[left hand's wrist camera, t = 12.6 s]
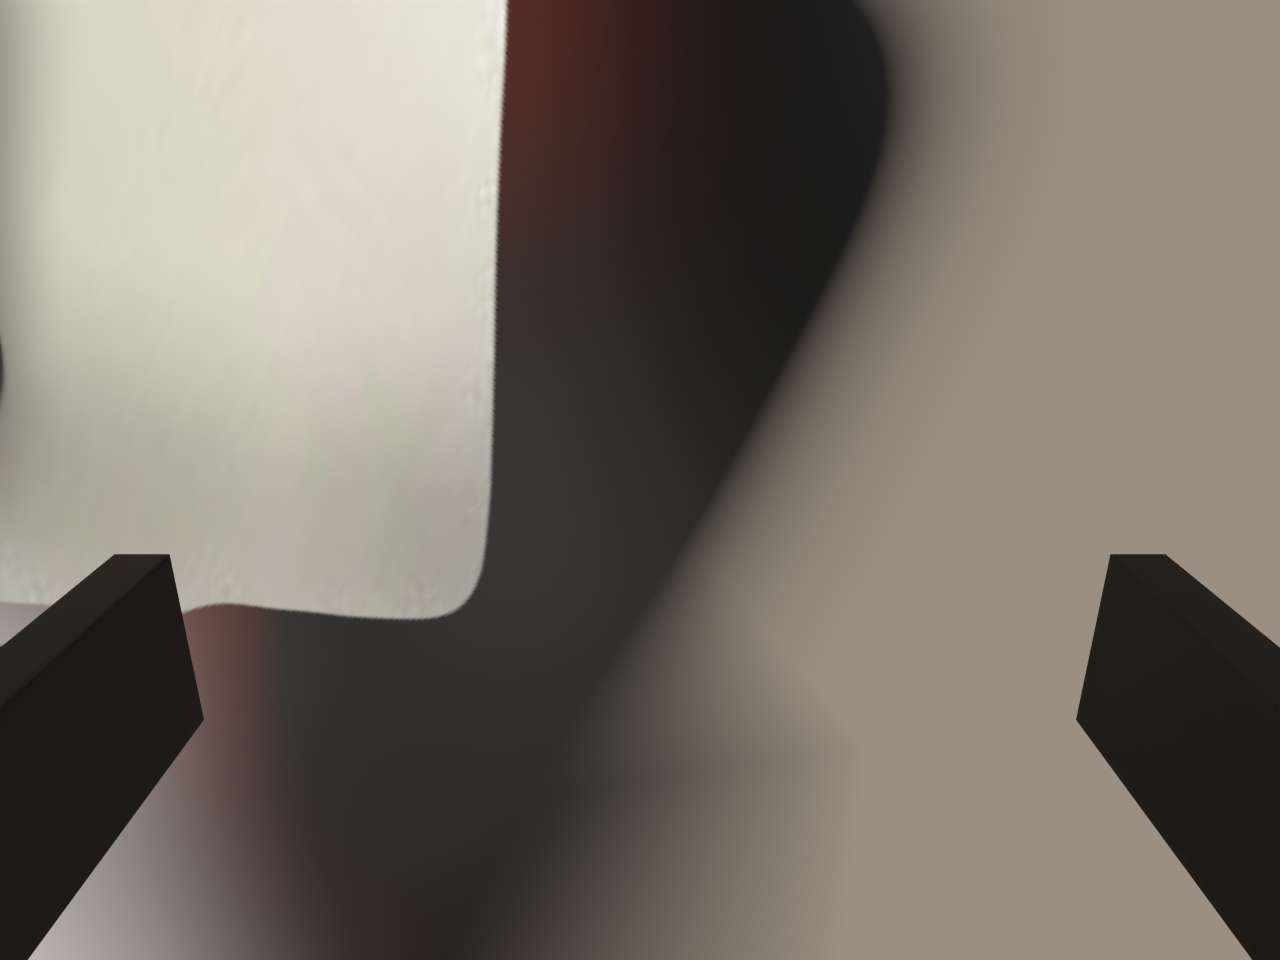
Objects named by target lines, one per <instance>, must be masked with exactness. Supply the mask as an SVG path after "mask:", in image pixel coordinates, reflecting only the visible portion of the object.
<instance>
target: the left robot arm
mask: <svg viewBox="0 0 1280 960" xmlns="http://www.w3.org/2000/svg"><path fill="white" fill-rule="evenodd" d="M203 720H204V718H203V713H202V708H201V704H200V699H199V694H198V689H197V684H196V680H195V675H194V670H193V665H192V660H191V655H190V651H189V646H188V641H187V636H186V631H185V627H184V622H183V617H182V612H181V607H180V603H179V598H178V593H177V588H176V583H175V579H174V574H173V569H172V564H171V559H170V555H169V554H114V555H113V556H112V557H111V558H110V559H108V560H107V561H106V562H105V563H103V564H102V565H101V566H100V567H98V568H97V569H96V570H95V571H94V572H92V573H91V574H90V575H89V576H87V577H86V578H85V579H84V580H83V581H81V582H80V583H79V584H78V585H76V586H75V587H74V588H73V589H72V590H70V591H69V592H68V593H67V594H65V595H64V596H63V597H62V598H61V599H59V600H58V601H57V602H56V603H54V604H53V605H52V606H51V607H49V608H48V609H47V610H46V611H45V612H43V613H42V614H41V615H40V616H38V617H37V618H36V619H35V620H34V621H32V622H31V623H30V624H29V625H27V626H26V627H25V628H24V629H23V630H21V631H20V632H19V633H18V634H16V635H15V636H14V637H13V638H12V639H10V640H9V641H8V642H7V643H5V644H4V645H3V646H2V647H1V648H0V960H28V959H29V957H30V956H31V955H32V953H33V952H34V950H35V949H36V948H37V946H38V945H39V944H40V942H41V941H42V940H43V938H44V937H45V935H46V934H47V933H48V931H49V930H50V929H51V927H52V926H53V925H54V923H55V922H56V920H57V919H58V918H59V916H60V915H61V914H62V912H63V911H64V910H65V908H66V907H67V905H68V904H69V903H70V901H71V900H72V899H73V897H74V896H75V894H76V893H77V892H78V890H79V889H80V888H81V886H82V885H83V884H84V882H85V881H86V880H87V878H88V877H89V875H90V874H91V873H92V871H93V870H94V869H95V867H96V866H97V865H98V863H99V862H100V861H101V859H102V858H103V856H104V855H105V854H106V852H107V851H108V850H109V848H110V847H111V845H112V844H113V843H114V841H115V840H116V839H117V837H118V836H119V835H120V833H121V832H122V831H123V829H124V828H125V826H126V825H127V824H128V822H129V821H130V820H131V818H132V817H133V816H134V814H135V813H136V811H137V810H138V809H139V807H140V806H141V805H142V803H143V802H144V801H145V799H146V798H147V796H148V795H149V794H150V792H151V791H152V790H153V788H154V787H155V786H156V784H157V783H158V781H159V780H160V779H161V777H162V776H163V775H164V773H165V772H166V771H167V769H168V768H169V766H170V765H171V764H172V762H173V761H174V760H175V758H176V757H177V756H178V754H179V753H180V751H181V750H182V749H183V747H184V746H185V745H186V743H187V742H188V741H189V739H190V738H191V737H192V735H193V734H194V732H195V731H196V730H197V728H198V727H199V726H200V724H201V723H202V722H203ZM1076 720H1077V721H1078V723H1079V724H1080V726H1081V727H1082V728H1083V730H1084V731H1085V732H1086V734H1087V735H1088V737H1089V738H1090V739H1091V741H1092V742H1093V743H1094V745H1095V746H1096V747H1097V749H1098V750H1099V752H1100V753H1101V754H1102V756H1103V757H1104V758H1105V760H1106V761H1107V762H1108V764H1109V765H1110V766H1111V768H1112V769H1113V771H1114V772H1115V773H1116V775H1117V776H1118V777H1119V779H1120V780H1121V781H1122V783H1123V784H1124V786H1125V787H1126V788H1127V790H1128V791H1129V792H1130V794H1131V795H1132V796H1133V798H1134V799H1135V800H1136V802H1137V803H1138V805H1139V806H1140V807H1141V809H1142V810H1143V811H1144V813H1145V814H1146V816H1147V817H1148V818H1149V820H1150V821H1151V822H1152V824H1153V825H1154V826H1155V828H1156V829H1157V831H1158V832H1159V833H1160V835H1161V836H1162V837H1163V839H1164V840H1165V841H1166V843H1167V844H1168V846H1169V847H1170V848H1171V850H1172V851H1173V852H1174V854H1175V855H1176V856H1177V858H1178V859H1179V860H1180V862H1181V863H1182V865H1183V866H1184V867H1185V869H1186V870H1187V871H1188V873H1189V874H1190V875H1191V877H1192V878H1193V880H1194V881H1195V882H1196V884H1197V885H1198V886H1199V888H1200V889H1201V890H1202V892H1203V893H1204V895H1205V896H1206V897H1207V899H1208V900H1209V901H1210V903H1211V904H1212V905H1213V907H1214V908H1215V909H1216V911H1217V912H1218V914H1219V915H1220V916H1221V918H1222V919H1223V920H1224V922H1225V923H1226V925H1227V926H1228V927H1229V929H1230V930H1231V931H1232V933H1233V934H1234V935H1235V937H1236V938H1237V940H1238V941H1239V942H1240V944H1241V945H1242V946H1243V948H1244V949H1245V950H1246V952H1247V953H1248V955H1249V956H1250V957H1251V959H1252V960H1280V648H1279V647H1278V646H1277V645H1276V644H1275V643H1273V642H1272V641H1271V640H1270V639H1268V638H1267V637H1266V636H1265V635H1264V634H1262V633H1261V632H1260V631H1259V630H1257V629H1256V628H1255V627H1254V626H1253V625H1251V624H1250V623H1249V622H1248V621H1246V620H1245V619H1244V618H1243V617H1242V616H1240V615H1239V614H1238V613H1237V612H1235V611H1234V610H1233V609H1232V608H1230V607H1229V606H1228V605H1227V604H1226V603H1224V602H1223V601H1222V600H1221V599H1219V598H1218V597H1217V596H1216V595H1214V594H1213V593H1212V592H1211V591H1210V590H1208V589H1207V588H1206V587H1205V586H1204V585H1202V584H1201V583H1200V582H1199V581H1197V580H1196V579H1195V578H1194V577H1193V576H1191V575H1190V574H1189V573H1188V572H1186V571H1185V570H1184V569H1183V568H1181V567H1180V566H1179V565H1178V564H1177V563H1175V562H1174V561H1173V560H1172V559H1170V558H1169V557H1168V556H1167V555H1165V554H1111V555H1110V559H1109V564H1108V569H1107V574H1106V579H1105V584H1104V588H1103V593H1102V598H1101V603H1100V607H1099V612H1098V617H1097V622H1096V627H1095V632H1094V636H1093V641H1092V646H1091V651H1090V656H1089V660H1088V665H1087V670H1086V675H1085V680H1084V684H1083V689H1082V694H1081V699H1080V704H1079V708H1078V713H1077V718H1076Z"/></svg>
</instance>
